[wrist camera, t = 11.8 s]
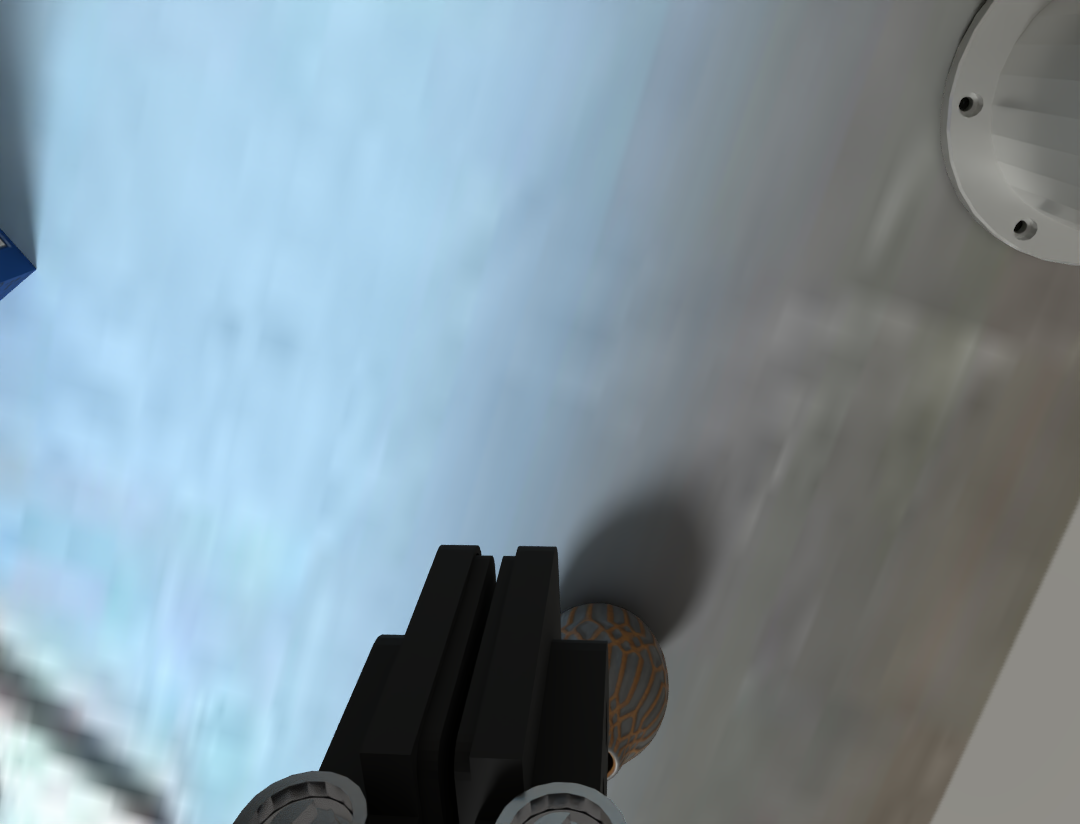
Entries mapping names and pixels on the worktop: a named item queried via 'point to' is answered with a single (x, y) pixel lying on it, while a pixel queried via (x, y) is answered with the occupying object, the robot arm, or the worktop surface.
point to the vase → (625, 676)
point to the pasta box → (12, 266)
